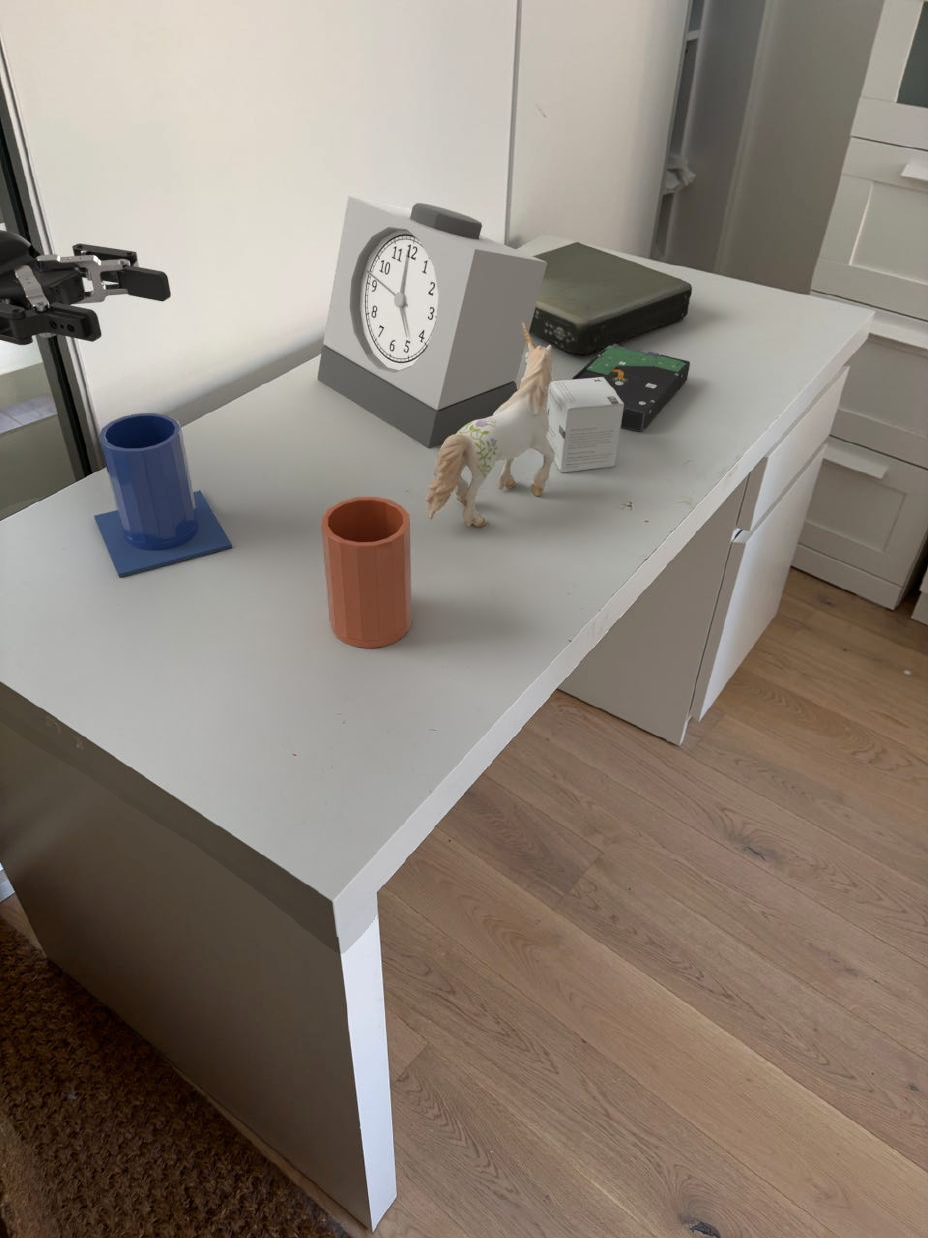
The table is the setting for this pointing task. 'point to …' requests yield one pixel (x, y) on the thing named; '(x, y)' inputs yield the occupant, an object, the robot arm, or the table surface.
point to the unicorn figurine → (498, 441)
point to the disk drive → (638, 381)
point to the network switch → (602, 299)
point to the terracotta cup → (368, 570)
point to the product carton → (583, 423)
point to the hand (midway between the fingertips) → (133, 306)
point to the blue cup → (150, 480)
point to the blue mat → (139, 560)
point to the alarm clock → (426, 317)
